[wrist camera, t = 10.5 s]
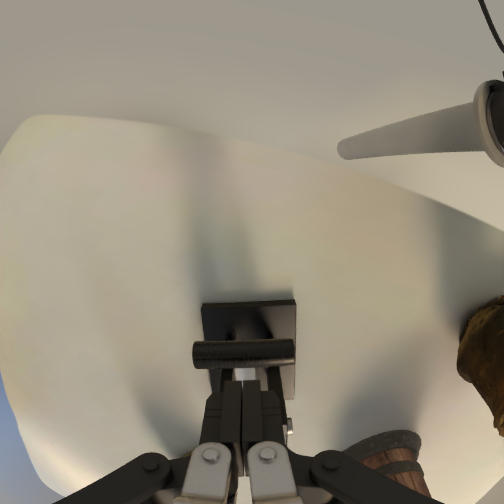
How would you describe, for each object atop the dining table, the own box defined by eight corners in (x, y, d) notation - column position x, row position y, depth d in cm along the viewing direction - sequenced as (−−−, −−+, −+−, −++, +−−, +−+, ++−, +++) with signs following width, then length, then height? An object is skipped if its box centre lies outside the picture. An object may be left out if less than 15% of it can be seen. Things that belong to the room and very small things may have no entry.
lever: (194, 328, 15) (189, 366, 13) (291, 324, 15) (297, 362, 13) (222, 422, 22) (221, 447, 20) (283, 420, 22) (285, 445, 20)
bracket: (202, 303, 30) (174, 385, 17) (294, 299, 30) (321, 379, 17) (214, 395, 33) (202, 484, 20) (292, 392, 33) (308, 480, 20)
